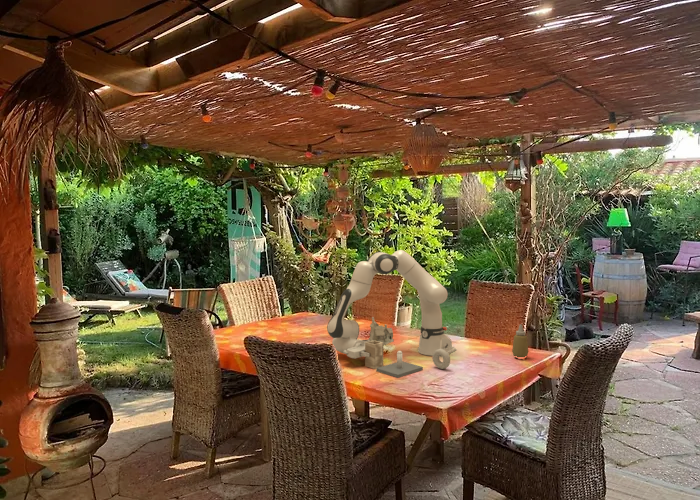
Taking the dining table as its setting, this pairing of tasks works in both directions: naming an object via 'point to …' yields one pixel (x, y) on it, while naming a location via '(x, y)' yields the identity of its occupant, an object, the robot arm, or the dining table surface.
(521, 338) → the squeeze bottle
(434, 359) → the donut
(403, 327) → the dining table surface
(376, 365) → the sleeve
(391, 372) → the post board
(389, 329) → the ceramic cottage
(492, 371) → the dining table surface
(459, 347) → the dining table surface
